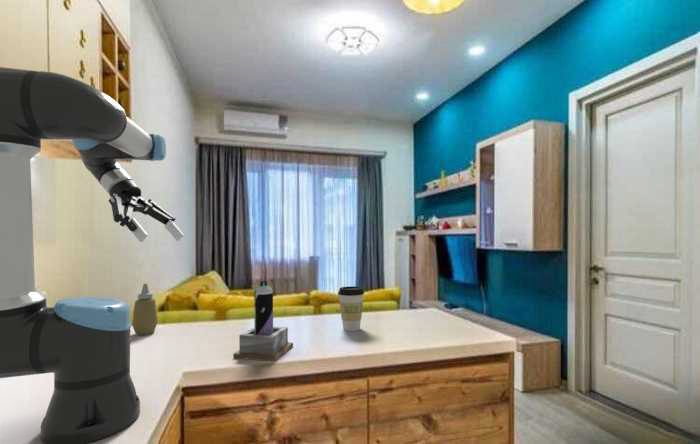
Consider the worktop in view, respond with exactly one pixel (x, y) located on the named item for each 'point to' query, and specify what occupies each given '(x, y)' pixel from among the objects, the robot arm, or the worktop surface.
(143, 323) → the squeeze bottle
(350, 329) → the coffee cup
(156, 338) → the worktop surface
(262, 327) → the spray can
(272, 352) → the socket stand
